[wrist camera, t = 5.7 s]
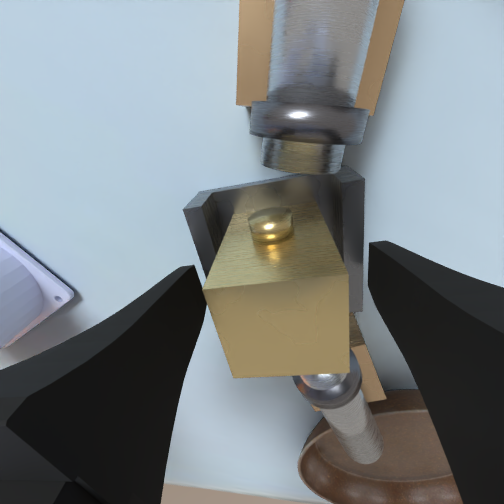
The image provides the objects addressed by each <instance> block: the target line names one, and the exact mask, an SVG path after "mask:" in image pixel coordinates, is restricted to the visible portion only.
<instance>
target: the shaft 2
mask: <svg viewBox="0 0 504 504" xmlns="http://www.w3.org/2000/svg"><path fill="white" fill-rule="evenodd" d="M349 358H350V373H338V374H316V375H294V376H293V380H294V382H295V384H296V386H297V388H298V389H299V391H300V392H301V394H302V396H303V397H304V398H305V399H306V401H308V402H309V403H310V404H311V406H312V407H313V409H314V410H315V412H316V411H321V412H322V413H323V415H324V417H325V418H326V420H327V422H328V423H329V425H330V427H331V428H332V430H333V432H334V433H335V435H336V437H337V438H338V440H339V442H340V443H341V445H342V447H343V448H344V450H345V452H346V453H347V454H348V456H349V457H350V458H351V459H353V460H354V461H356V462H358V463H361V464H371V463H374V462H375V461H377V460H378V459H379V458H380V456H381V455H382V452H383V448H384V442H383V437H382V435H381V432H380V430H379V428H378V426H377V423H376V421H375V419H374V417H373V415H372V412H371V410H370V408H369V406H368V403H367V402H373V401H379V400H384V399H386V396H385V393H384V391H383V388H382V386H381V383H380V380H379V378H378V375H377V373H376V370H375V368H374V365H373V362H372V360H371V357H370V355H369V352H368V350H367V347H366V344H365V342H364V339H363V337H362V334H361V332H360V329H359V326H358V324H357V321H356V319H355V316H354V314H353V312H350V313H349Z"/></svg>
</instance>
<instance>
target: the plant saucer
mask: <svg viewBox="0 0 504 504" xmlns="http://www.w3.org/2000/svg"><path fill="white" fill-rule="evenodd" d="M384 393H385V396H386V399H384V400H379V401H373V402H367V403H368V406H369V408H370V410H371V412H372V415H373V417H374V419H375V421H376V423H377V426H378V428H379V430H380V432H381V435H382V437H383V442H384V448H383V452H382V455H381V456H380V458H379V459H378V460H377V461H375V462H374V463H371V464H361V463H358V462H356V461H354V460H353V459H351V458H350V457H349V456H348V454H347V453H346V452H345V450H344V448H343V447H342V445H341V443H340V442H339V440H338V438H337V437H336V435H335V433H334V432H333V430H332V428H331V427H330V425H329V423H328V422H327V420H326V418H325V417H323V418H322V420H321V421H320V422H319V423H318V425H317V426H316V427H315V428H314V430H313V431H312V433H311V434H310V436H309V437H308V439H307V441H306V443H305V444H304V447H303V449H302V451H301V454H300V457H299V460H298V472H299V475H300V477H301V479H302V481H303V482H304V484H305V485H306V486H307V487H308V488H309V489H310V490H311V491H312V492H314V493H315V494H316V495H318V496H320V497H321V498H323V499H325V500H327V501H329V502H331V503H333V504H463V502H462V499H461V496H460V493H459V491H458V488H457V485H456V482H455V479H454V477H453V474H452V471H451V468H450V466H449V463H448V461H447V458H446V455H445V453H444V450H443V448H442V445H441V443H440V440H439V437H438V435H437V432H436V430H435V427H434V425H433V422H432V420H431V417H430V415H429V412H428V410H427V408H426V405H425V403H424V400H423V398H422V395H421V393H420V391H419V390H416V389H404V390H391V391H384Z"/></svg>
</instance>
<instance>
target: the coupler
mask: <svg viewBox="0 0 504 504" xmlns="http://www.w3.org/2000/svg"><path fill="white" fill-rule="evenodd" d="M202 291H203V293H204V296H205V299H206V302H207V305H208V307H209V310H210V313H211V316H212V319H213V322H214V324H215V327H216V330H217V333H218V336H219V339H220V341H221V344H222V347H223V350H224V353H225V356H226V358H227V361H228V364H229V367H230V370H231V373H232V375H233V378H250V377H272V376H294V375H316V374H338V373H350V358H349V274H348V272H347V269H346V267H345V265H344V263H343V260H342V258H341V256H340V254H339V252H338V249H337V247H336V245H335V243H334V241H333V238H332V236H331V234H330V232H329V229H328V227H327V225H326V223H325V221H324V218H323V216H322V214H321V212H320V209H319V207H318V205H317V203H316V202H311V203H305V204H298V205H292V206H285V207H272V208H266V209H262V210H259V211H253V212H247V213H240V214H234V215H233V216H232V219H231V221H230V224H229V226H228V229H227V231H226V233H225V236H224V238H223V241H222V243H221V245H220V248H219V250H218V253H217V255H216V258H215V260H214V262H213V265H212V267H211V270H210V272H209V274H208V277H207V279H206V282H205V284H204V286H203V289H202Z"/></svg>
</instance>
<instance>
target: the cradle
mask: <svg viewBox="0 0 504 504" xmlns="http://www.w3.org/2000/svg"><path fill="white" fill-rule="evenodd" d="M364 192H365V179H364V178H363V177H362V176H360V175H359V174H358V173H356V172H355V171H353V170H352V169H351V168H349V167H348V166H342V167H340V171H339V172H338V173H334V174H325V175H314V174H297V175H292V176H286V177H280V178H275V179H269V180H263V181H258V182H252V183H246V184H241V185H235V186H230V187H224V188H218V189H213V190H207V191H201V192H199V193H198V194H197V195H196V196H195V197H194V198H193V199H192V200H191V201H190V202H189V203H188V204H187V206H186V207H185V208H184V209H183V211H184V214H185V217H186V220H187V223H188V226H189V229H190V232H191V235H192V238H193V241H194V244H195V247H196V250H197V253H198V256H199V259H200V261H201V264H202V267H203V270H204V273H205V276H206V279H207V277H208V274H209V272H210V270H211V267H212V265H213V262H214V260H215V258H216V255H217V253H218V250H219V248H220V245H221V243H222V241H223V238H224V236H225V233H226V231H227V229H228V226H229V224H230V221H231V219H232V216H233V215H234V214H240V213H247V212H253V211H259V210H262V209H266V208H272V207H285V206H292V205H298V204H305V203H311V202H316V203H317V205H318V207H319V209H320V212H321V214H322V216H323V218H324V221H325V223H326V225H327V227H328V229H329V232H330V234H331V236H332V238H333V241H334V243H335V245H336V247H337V249H338V252H339V254H340V256H341V258H342V260H343V263H344V265H345V267H346V269H347V272H348V274H349V313H350V312H362V302H363V247H364Z"/></svg>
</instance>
